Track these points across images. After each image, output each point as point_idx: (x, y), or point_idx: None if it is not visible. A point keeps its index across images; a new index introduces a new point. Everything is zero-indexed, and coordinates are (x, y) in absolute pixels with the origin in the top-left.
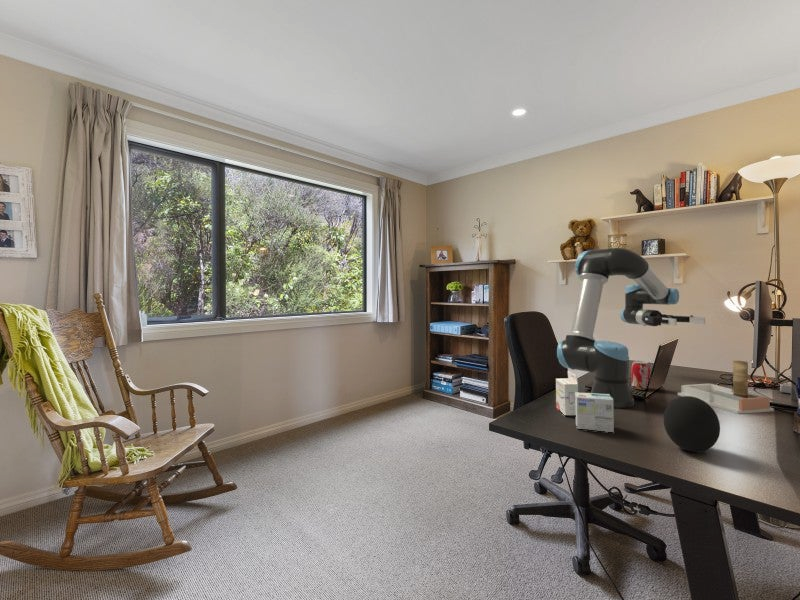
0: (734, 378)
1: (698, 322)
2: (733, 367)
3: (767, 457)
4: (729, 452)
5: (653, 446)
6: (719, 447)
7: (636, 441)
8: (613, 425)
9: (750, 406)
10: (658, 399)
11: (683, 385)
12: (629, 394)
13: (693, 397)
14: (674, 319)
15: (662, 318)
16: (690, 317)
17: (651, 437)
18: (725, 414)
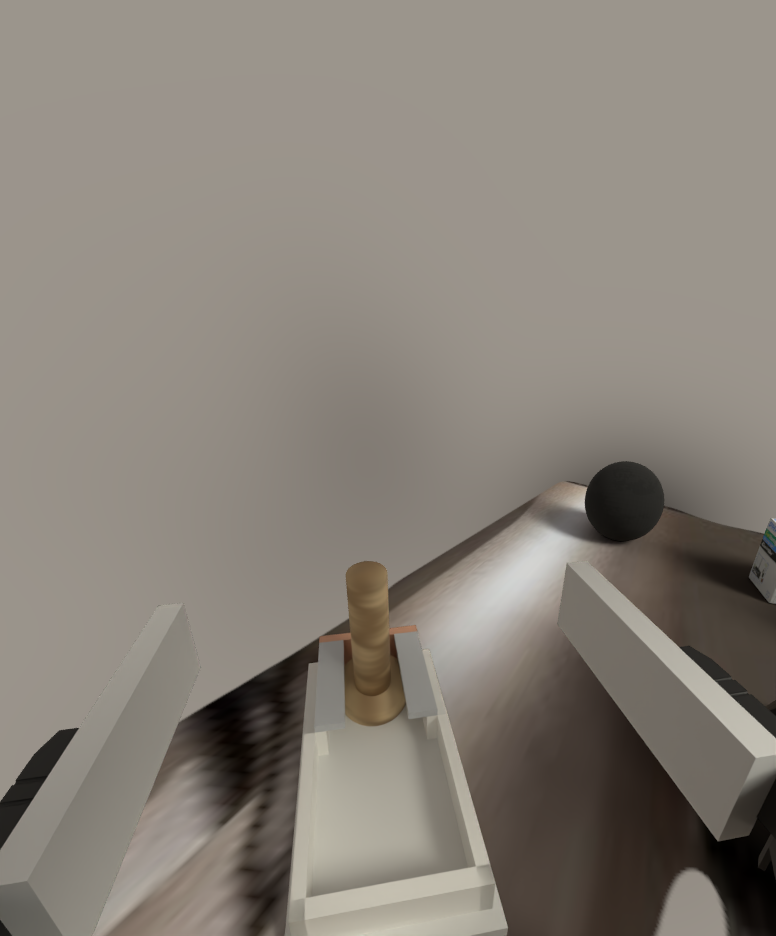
0: (388, 625)
1: (168, 720)
2: (386, 597)
3: (521, 525)
4: (562, 533)
5: (669, 544)
6: (569, 541)
7: (698, 555)
8: (753, 564)
9: None
10: (634, 837)
11: (483, 878)
12: (771, 704)
13: (627, 462)
14: (589, 570)
15: (768, 745)
16: (56, 850)
17: (672, 565)
18: (463, 654)
